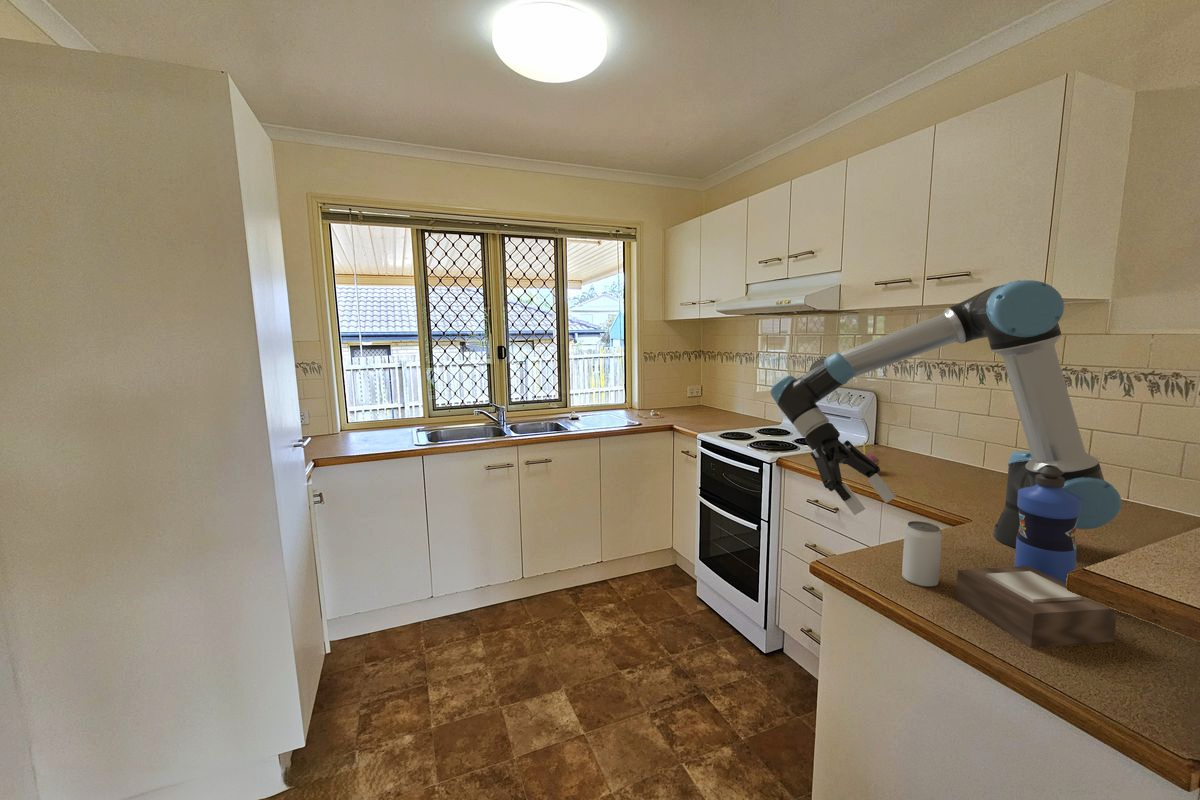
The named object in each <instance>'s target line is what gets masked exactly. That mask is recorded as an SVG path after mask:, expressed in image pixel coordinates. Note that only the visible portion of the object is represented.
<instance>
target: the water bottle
mask: <svg viewBox="0 0 1200 800" xmlns="http://www.w3.org/2000/svg"><path fill="white" fill-rule="evenodd" d="M1037 471H1038V472H1039V473H1040V474H1037V475H1036V479H1035V483H1036V485H1035V486H1032V487H1026V488H1022V489H1019V490H1018V499H1017V506H1018V509H1019V519H1020V527H1019V531H1018V535H1017V537H1016V548H1015V556H1014V567H1019V566H1030V567H1032V568H1034V569H1036V570H1038V571H1041V572H1043V573H1045V574H1047V575H1049V576H1051V577H1053V578H1055V579H1057V580H1059V581H1061V582H1064V583H1066V578H1067V574H1068V573H1069V572H1070V571H1073V570H1075V571H1076V569H1077V568H1076V567H1077V566H1076V564H1077V551H1078V547H1076V542H1077V540H1076V530H1077V529H1076V527H1077V523H1078V519H1079V516H1080V515H1081V502H1082V499H1081V498H1080V497H1079V496H1077V495H1075V494H1073V493H1071V492H1068V491H1066V490H1065V489H1064V488H1063V487H1064V481H1065V478H1063V477H1061V475H1063V474H1064V473H1063V472H1062V471H1061V470H1060V469H1059V468H1058V467H1056V466H1053V465H1045V466H1043V467H1041V468H1040V469H1038V470H1037Z"/></svg>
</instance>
